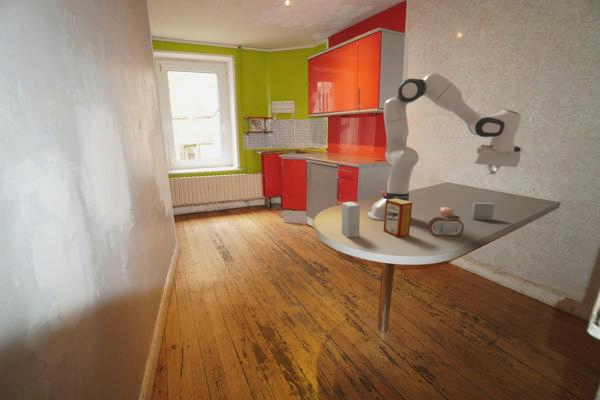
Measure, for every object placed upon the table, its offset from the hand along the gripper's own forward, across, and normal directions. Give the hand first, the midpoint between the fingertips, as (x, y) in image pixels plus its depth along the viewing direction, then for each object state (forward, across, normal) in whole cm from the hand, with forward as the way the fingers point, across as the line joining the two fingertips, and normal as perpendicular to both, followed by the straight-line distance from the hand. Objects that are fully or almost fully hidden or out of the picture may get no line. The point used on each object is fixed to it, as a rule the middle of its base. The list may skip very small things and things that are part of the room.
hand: (491, 174), depth 140 cm
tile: (+27, +7, +6) cm, 29 cm away
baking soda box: (+28, -47, -18) cm, 57 cm away
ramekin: (+29, -8, +13) cm, 33 cm away
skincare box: (+30, -69, -20) cm, 78 cm away
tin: (+26, -25, -19) cm, 41 cm away
